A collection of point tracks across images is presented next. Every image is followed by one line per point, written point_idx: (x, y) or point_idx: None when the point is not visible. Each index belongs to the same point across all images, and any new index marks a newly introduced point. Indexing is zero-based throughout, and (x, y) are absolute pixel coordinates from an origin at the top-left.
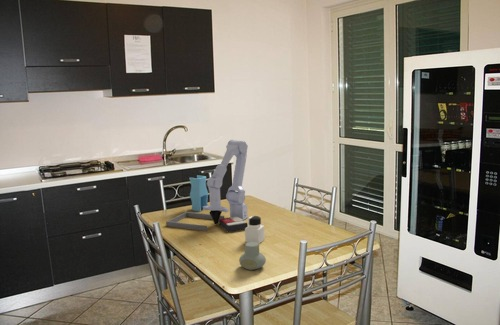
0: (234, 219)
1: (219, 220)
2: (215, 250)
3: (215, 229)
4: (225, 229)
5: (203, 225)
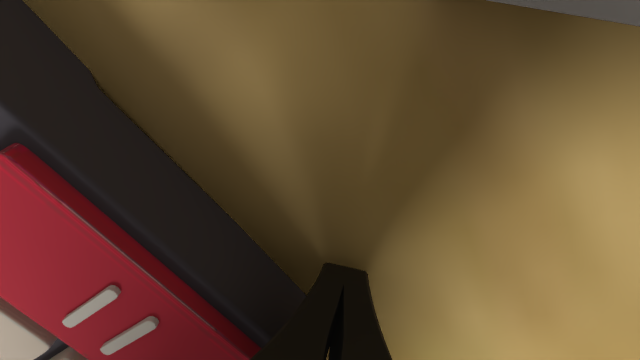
0: (18, 349)
1: None
2: None
3: (278, 79)
4: (82, 74)
5: (552, 3)
